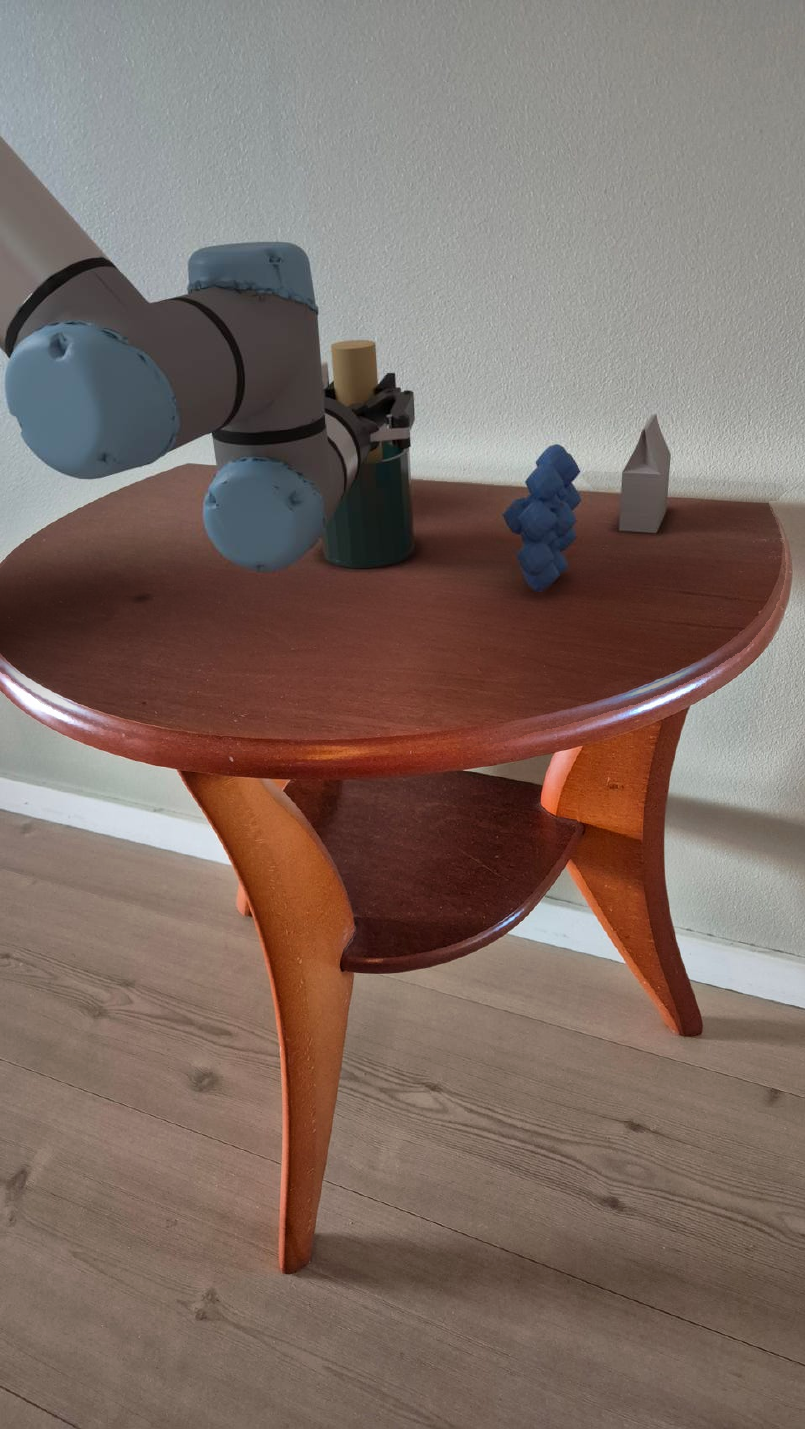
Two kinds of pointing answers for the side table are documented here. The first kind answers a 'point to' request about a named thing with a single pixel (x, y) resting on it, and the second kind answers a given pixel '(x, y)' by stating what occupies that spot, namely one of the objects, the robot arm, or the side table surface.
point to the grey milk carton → (645, 482)
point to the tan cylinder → (355, 377)
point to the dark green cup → (374, 515)
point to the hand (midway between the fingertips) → (368, 388)
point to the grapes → (546, 517)
